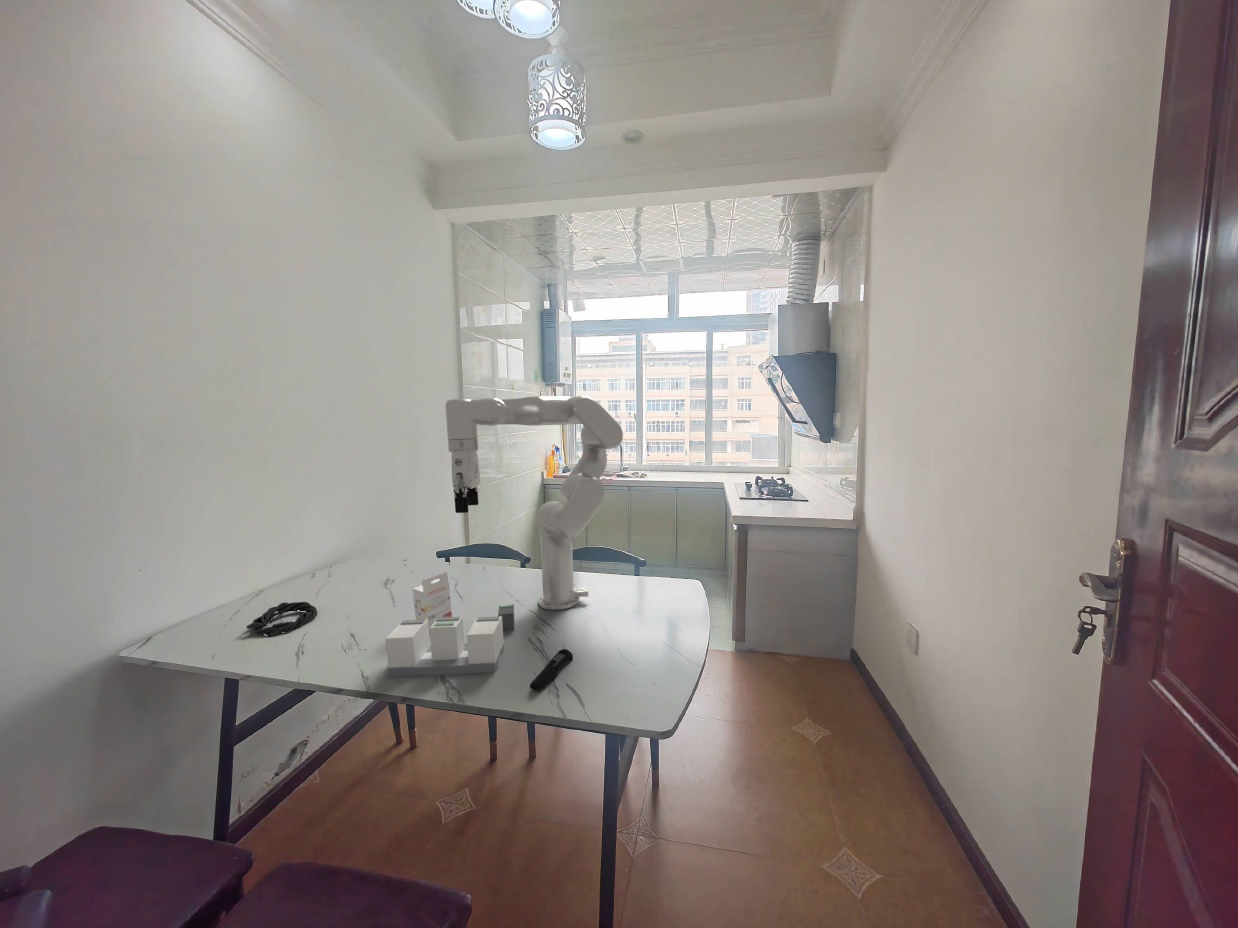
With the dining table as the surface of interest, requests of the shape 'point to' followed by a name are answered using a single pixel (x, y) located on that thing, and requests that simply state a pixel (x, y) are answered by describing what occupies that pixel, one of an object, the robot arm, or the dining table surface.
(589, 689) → the dining table surface
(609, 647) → the dining table surface
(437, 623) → the block
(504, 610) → the loose device
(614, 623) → the dining table surface
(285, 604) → the cable
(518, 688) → the dining table surface
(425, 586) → the ink cartridge box
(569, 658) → the electric trimmer
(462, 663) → the rail board
